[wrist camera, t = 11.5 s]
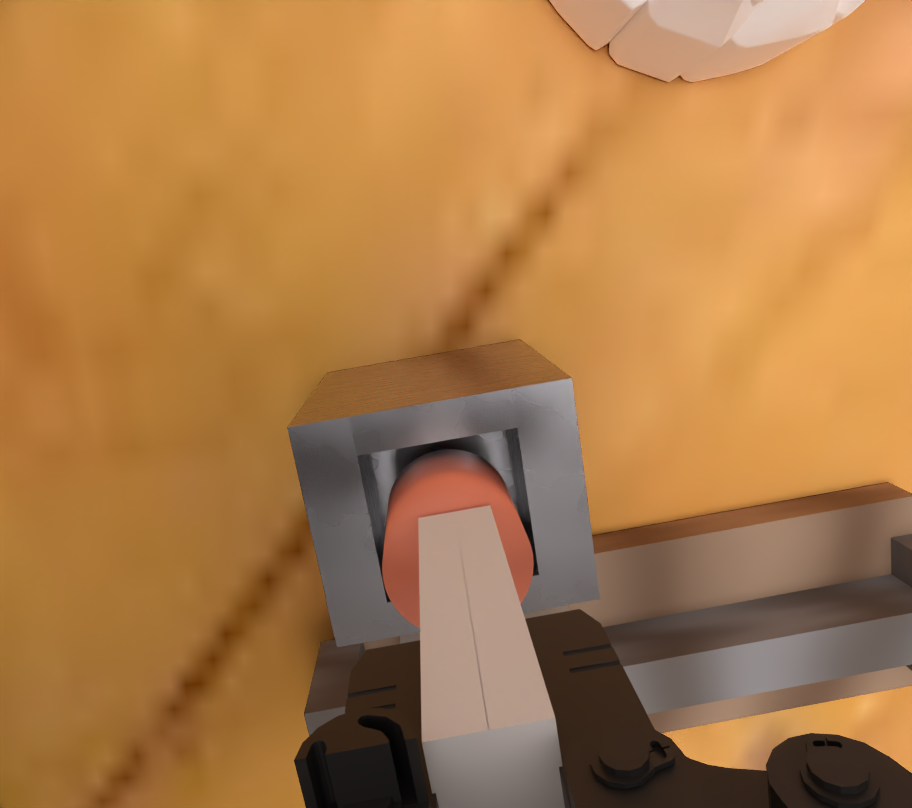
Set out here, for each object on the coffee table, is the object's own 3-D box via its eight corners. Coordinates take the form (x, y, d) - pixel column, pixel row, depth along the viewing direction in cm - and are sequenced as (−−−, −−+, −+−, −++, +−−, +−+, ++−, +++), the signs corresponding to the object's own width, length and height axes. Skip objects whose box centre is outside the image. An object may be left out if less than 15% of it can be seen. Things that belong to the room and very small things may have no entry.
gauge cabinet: (360, 532, 25) (338, 654, 18) (327, 372, 24) (287, 427, 16) (543, 499, 26) (600, 605, 18) (520, 339, 24) (571, 377, 16)
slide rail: (358, 762, 28) (345, 884, 22) (318, 585, 26) (293, 671, 20) (903, 659, 28) (1019, 754, 23) (900, 480, 26) (1025, 536, 21)
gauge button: (399, 574, 18) (397, 648, 15) (377, 460, 17) (369, 510, 14) (518, 553, 18) (542, 622, 15) (500, 439, 17) (522, 483, 14)
